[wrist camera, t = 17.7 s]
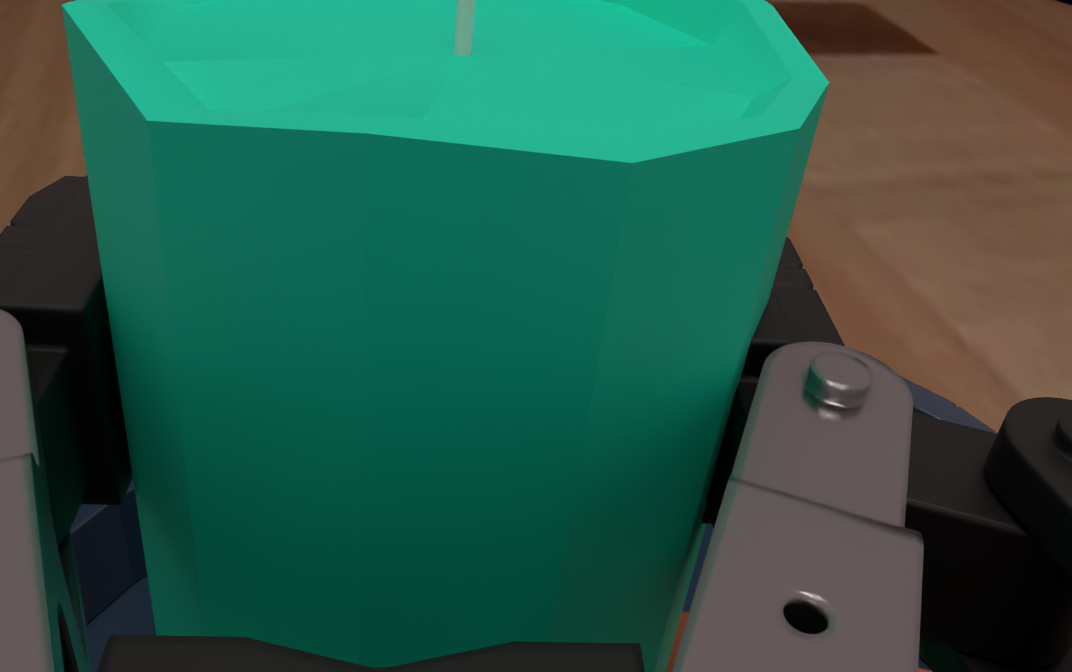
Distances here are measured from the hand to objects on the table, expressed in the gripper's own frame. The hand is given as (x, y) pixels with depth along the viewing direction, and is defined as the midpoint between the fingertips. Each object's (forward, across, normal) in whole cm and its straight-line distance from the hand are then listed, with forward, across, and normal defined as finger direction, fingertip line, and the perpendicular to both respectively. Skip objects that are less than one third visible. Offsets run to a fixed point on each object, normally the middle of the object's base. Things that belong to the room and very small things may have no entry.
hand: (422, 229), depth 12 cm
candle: (-3, 0, +7) cm, 8 cm away
